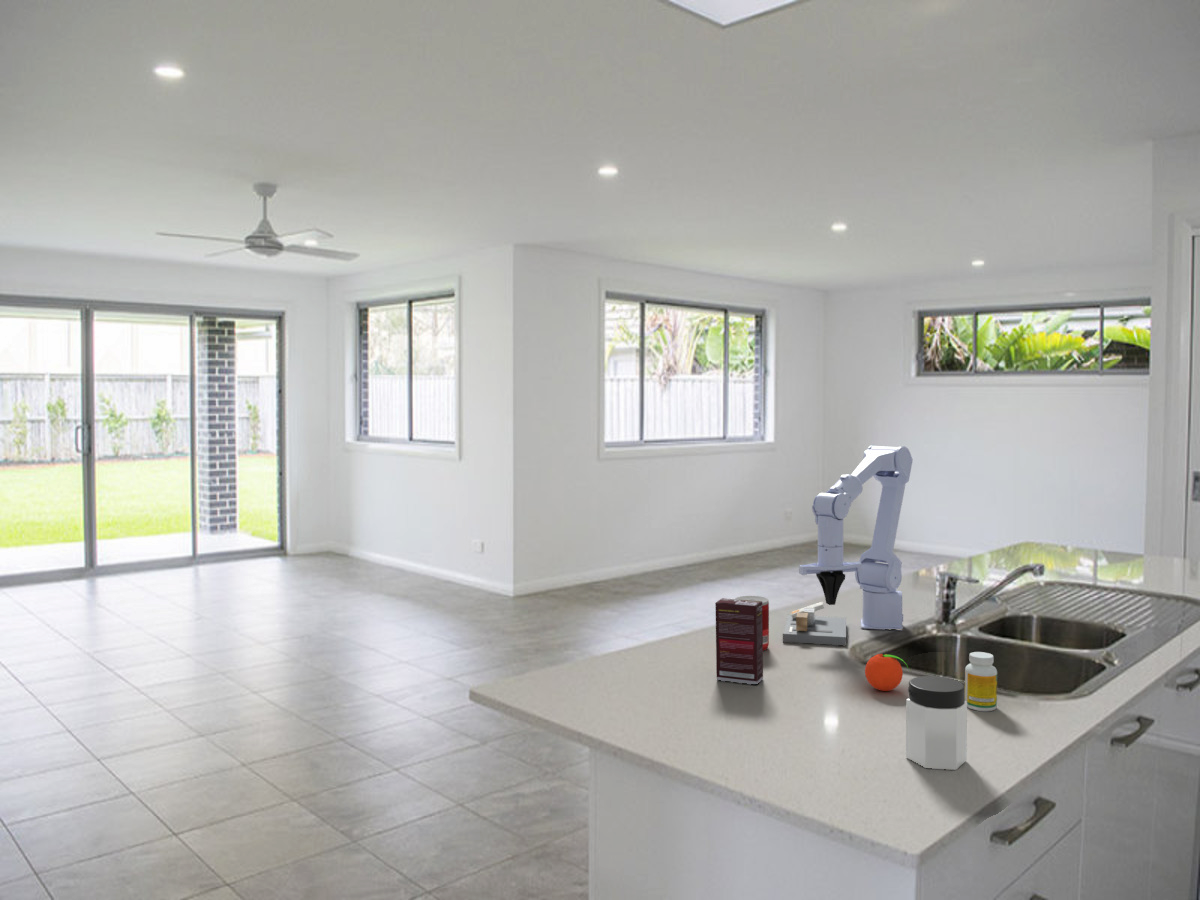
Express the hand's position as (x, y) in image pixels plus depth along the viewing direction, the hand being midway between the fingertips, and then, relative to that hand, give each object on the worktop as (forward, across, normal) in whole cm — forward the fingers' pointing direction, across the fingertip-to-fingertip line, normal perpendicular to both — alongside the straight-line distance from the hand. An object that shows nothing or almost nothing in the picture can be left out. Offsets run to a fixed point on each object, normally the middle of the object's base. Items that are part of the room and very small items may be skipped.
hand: (830, 603), depth 210 cm
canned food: (+9, +20, +2) cm, 22 cm away
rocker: (+4, 0, -13) cm, 13 cm away
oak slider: (+6, +6, -3) cm, 9 cm away
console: (+8, +1, -6) cm, 11 cm away
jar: (+8, +14, +68) cm, 70 cm away
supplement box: (+8, +30, +23) cm, 39 cm away
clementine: (+9, +5, +36) cm, 37 cm away
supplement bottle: (+9, -7, +48) cm, 49 cm away
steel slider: (+6, +2, -7) cm, 10 cm away
